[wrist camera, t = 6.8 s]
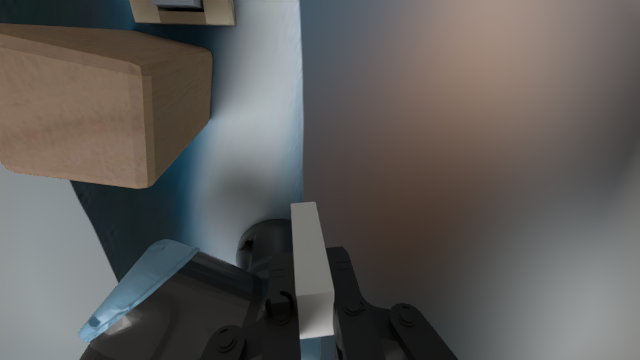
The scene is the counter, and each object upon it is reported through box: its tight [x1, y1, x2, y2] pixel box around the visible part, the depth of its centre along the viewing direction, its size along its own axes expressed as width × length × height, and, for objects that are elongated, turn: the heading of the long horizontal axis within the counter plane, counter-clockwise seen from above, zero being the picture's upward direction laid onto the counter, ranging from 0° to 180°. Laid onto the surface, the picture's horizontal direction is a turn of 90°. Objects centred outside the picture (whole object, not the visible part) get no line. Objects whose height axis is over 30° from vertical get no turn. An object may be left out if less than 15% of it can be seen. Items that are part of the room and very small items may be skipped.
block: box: [0, 23, 213, 189], centre depth 27 cm, size 10×10×20 cm
